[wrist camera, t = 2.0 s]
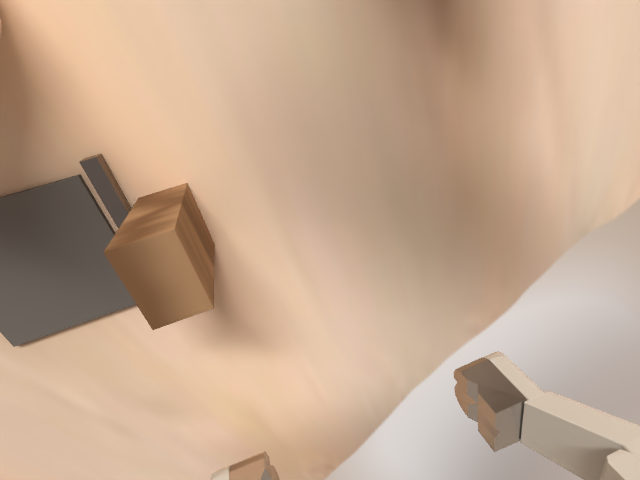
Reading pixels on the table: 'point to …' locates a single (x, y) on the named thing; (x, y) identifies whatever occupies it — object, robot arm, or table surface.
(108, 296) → the mat
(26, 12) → the table surface
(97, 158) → the rail
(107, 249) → the walnut block
